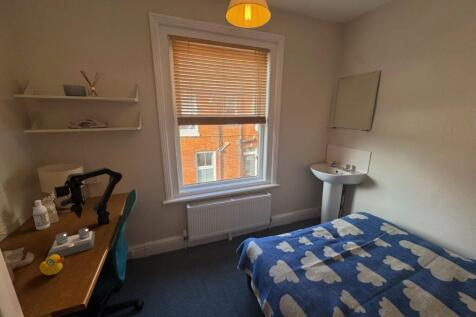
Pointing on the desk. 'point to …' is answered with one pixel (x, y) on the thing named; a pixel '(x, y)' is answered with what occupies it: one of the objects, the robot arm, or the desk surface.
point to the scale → (72, 245)
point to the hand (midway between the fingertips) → (80, 214)
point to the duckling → (51, 265)
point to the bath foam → (40, 216)
